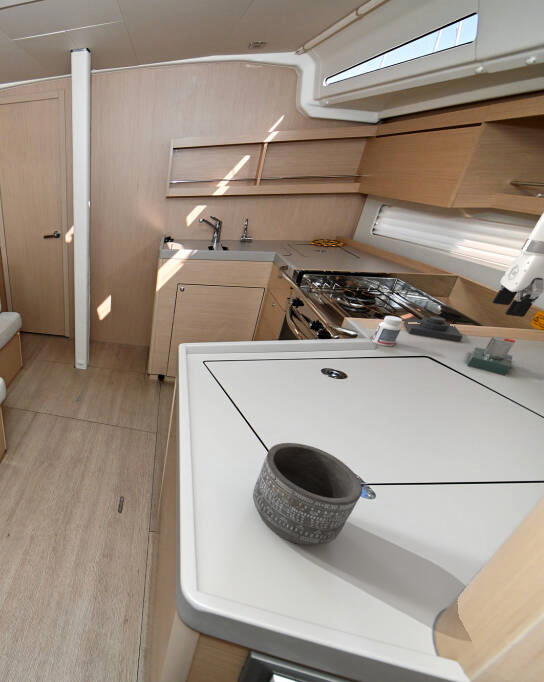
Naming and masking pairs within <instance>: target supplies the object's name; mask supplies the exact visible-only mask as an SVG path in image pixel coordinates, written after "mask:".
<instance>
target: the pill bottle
mask: <svg viewBox="0 0 544 682" xmlns="http://www.w3.org/2000/svg"><path fill="white" fill-rule="evenodd" d="M402 321H403V318H400V317H398V316H394V315H385V316H384V318H383V321H381V322H380V323H379V324H378V326H377V328H376V330H375V332H374V335H373V337H372V339H371V341H372V342H373V343H374V344H376V345H379V346H384V347H392V346H394V344H395V342H396V341H397V338H398V336H399V334H400V333H401V330H402V326H401V324H402Z"/></svg>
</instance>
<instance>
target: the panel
mask: <svg viewBox="0 0 544 682" xmlns="http://www.w3.org/2000/svg"><path fill="white" fill-rule="evenodd" d="M473 349H474V350H471V354H470V356H469V359H468V362H467V365H466V366H467V367H469V368H475V369H478V370H482V371H486V372H489V373H493V374H497V375H500V376H506V375H507V373H508V372H509V370H510V369H511V368H512V363H513V362H514V363H516V362H517V361H516V360H513V355H510V354H507V355H506V356H505V358H504V359H502V360H498V359H492V358H489V357H486V356H484V355H483V354H482V353H483V352H484V350H485V348H481V347H477V346H475V347H474V348H473Z"/></svg>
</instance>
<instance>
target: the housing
mask: <svg viewBox="0 0 544 682" xmlns="http://www.w3.org/2000/svg"><path fill="white" fill-rule="evenodd" d="M429 318H430V317H423V318H422V319H415V318H409V317H407V318H405V320H404V322H403V325H404V327H405V329H406V331H407V333H408V334H409V335H415V336H420V337H427V338H430V339H431V338H432V339H438V340H445V341H450V342H455V343H460V342H461V340H462V338H463V337H464V336H463V335H462V333H461V332H460V331H459V330H458V328H457V327H456V325H454V327H453V326H450V325H451V324H450V323H449V322H448V321H446V320H445V321H444V323H443V325H440V324H434V323H430V322H428V320H429ZM408 322H417V323H420V324H408Z"/></svg>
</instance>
